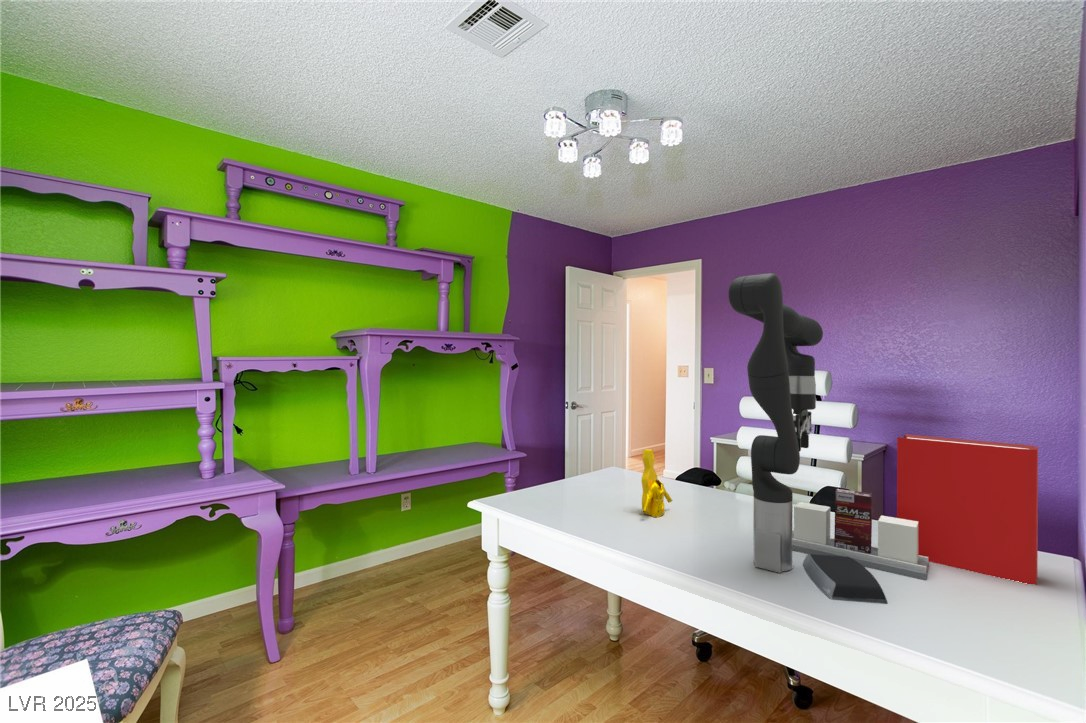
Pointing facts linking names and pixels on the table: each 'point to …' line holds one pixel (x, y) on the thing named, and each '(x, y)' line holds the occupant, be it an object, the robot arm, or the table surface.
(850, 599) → the external hard drive
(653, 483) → the figure statuette
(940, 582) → the table surface
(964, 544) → the book
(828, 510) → the board
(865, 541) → the supplement box
